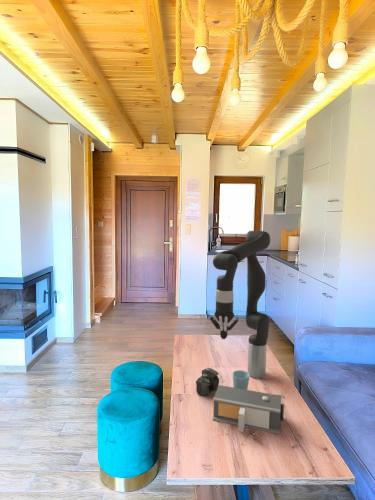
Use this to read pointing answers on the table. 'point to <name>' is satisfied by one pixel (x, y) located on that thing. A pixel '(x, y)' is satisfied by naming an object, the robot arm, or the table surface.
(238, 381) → the cup
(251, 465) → the table surface
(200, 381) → the camera
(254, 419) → the side door
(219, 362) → the table surface
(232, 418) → the grey box
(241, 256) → the robot arm
